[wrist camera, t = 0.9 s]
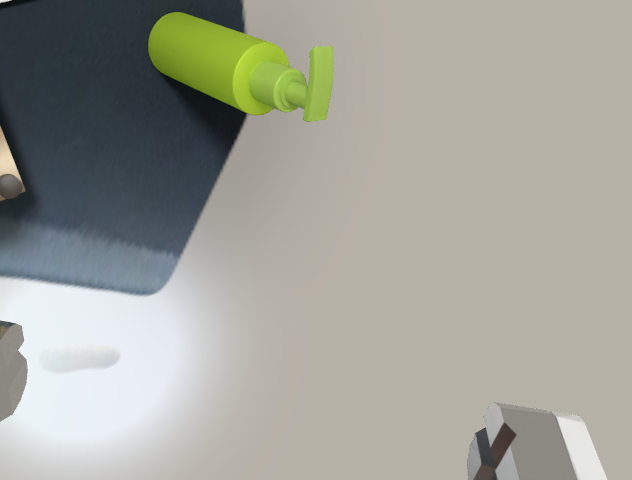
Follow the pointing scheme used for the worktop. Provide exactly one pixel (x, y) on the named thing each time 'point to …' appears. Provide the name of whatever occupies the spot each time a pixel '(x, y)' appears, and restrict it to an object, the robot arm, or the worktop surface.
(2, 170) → the sleeve block
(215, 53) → the soap dispenser
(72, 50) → the worktop surface
